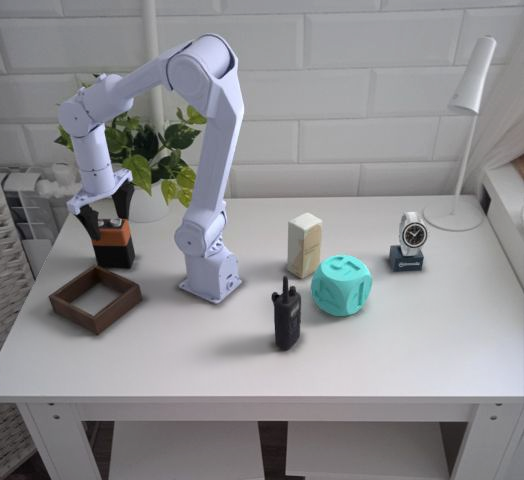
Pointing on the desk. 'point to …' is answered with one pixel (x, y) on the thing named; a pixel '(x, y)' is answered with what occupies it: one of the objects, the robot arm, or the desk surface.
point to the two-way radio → (287, 316)
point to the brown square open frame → (84, 283)
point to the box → (304, 244)
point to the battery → (114, 244)
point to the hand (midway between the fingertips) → (109, 229)
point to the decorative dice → (341, 285)
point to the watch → (409, 244)
